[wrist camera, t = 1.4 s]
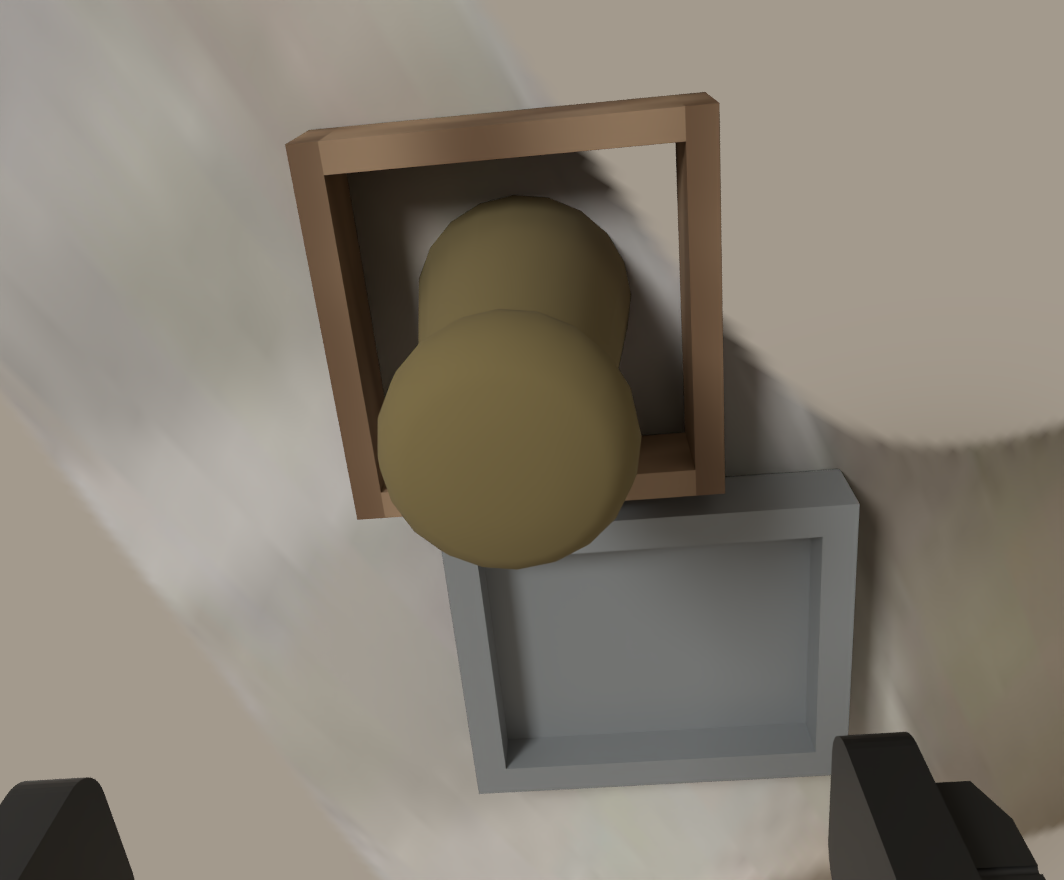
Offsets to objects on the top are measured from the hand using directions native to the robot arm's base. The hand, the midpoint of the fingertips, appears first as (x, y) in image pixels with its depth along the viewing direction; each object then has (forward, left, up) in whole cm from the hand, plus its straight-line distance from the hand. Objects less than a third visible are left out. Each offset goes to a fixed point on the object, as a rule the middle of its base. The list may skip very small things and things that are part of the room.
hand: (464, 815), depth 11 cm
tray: (-3, +11, -19) cm, 22 cm away
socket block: (0, 0, -19) cm, 19 cm away
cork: (0, 0, -19) cm, 19 cm away
